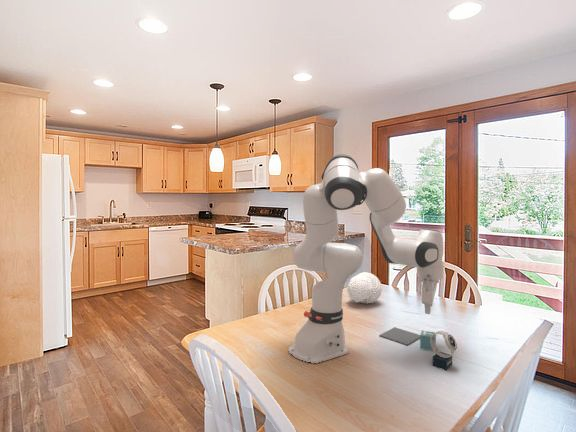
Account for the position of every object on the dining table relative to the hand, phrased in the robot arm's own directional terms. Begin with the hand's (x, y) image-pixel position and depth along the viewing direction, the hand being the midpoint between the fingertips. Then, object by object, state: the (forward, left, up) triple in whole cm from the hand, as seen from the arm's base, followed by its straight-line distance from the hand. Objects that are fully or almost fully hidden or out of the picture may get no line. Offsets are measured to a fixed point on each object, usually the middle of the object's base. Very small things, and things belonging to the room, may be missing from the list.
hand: (428, 309), depth 124 cm
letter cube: (0, 0, -14) cm, 14 cm away
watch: (-10, -10, -14) cm, 20 cm away
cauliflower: (+25, +44, -14) cm, 53 cm away
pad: (+1, +11, -14) cm, 18 cm away
